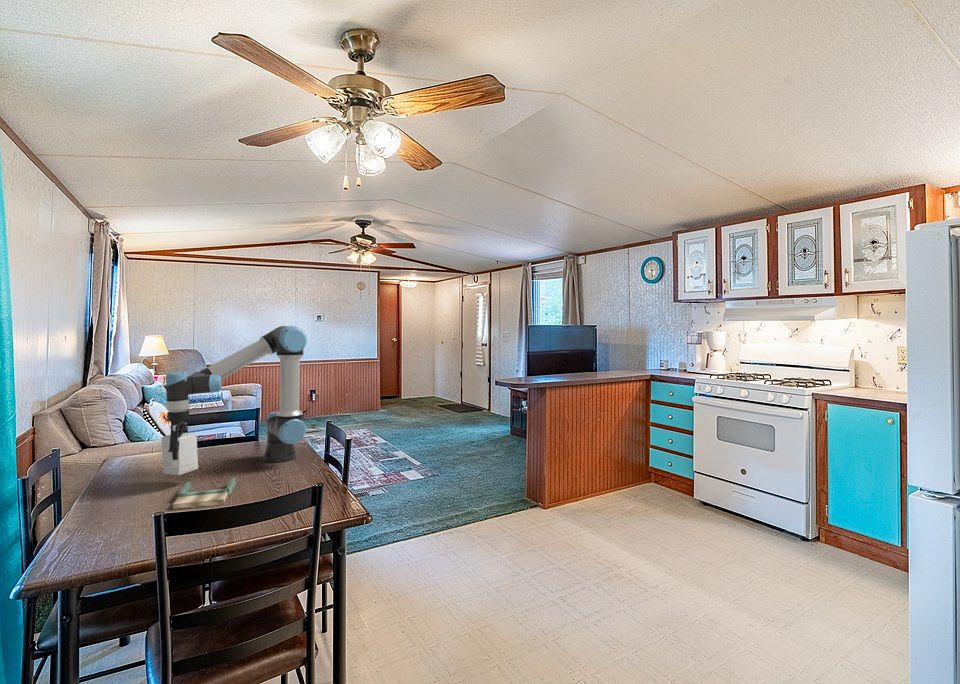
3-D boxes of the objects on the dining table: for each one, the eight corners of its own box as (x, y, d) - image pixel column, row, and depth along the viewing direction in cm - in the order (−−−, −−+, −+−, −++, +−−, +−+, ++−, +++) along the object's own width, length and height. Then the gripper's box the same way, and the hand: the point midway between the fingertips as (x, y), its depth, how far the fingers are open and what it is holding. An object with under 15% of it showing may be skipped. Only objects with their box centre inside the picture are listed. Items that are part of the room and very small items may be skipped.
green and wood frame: (235, 484, 191) (235, 477, 191) (225, 504, 170) (225, 496, 170) (187, 489, 185) (187, 481, 185) (170, 509, 164) (170, 501, 164)
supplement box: (199, 468, 193) (197, 433, 193) (178, 475, 185) (177, 438, 184) (183, 466, 196) (181, 431, 196) (162, 473, 188) (160, 436, 187)
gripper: (176, 405, 199) (178, 455, 201) (157, 417, 177) (160, 473, 178) (196, 404, 202) (198, 453, 203) (180, 415, 179) (183, 470, 180)
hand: (180, 462), depth 190 cm, fingers closed on supplement box, 12 cm apart
